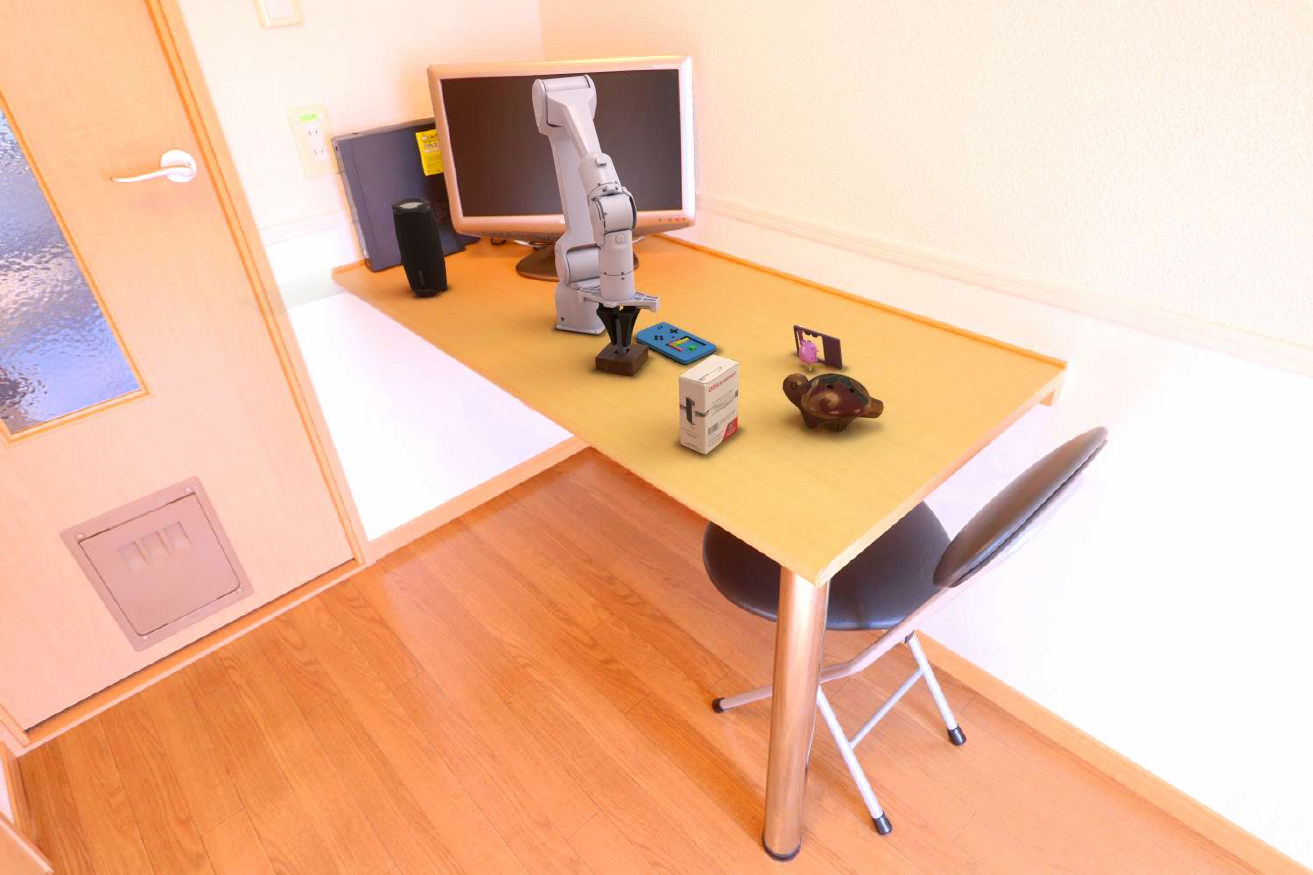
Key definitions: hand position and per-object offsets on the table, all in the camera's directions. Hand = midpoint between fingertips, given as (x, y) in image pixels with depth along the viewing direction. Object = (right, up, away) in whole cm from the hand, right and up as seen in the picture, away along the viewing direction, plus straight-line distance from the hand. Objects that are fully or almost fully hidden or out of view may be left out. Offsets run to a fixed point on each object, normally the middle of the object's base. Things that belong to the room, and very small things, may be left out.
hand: (621, 343), depth 125 cm
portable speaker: (-44, +16, +34) cm, 58 cm away
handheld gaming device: (+9, +1, +8) cm, 12 cm away
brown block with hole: (0, -3, +2) cm, 4 cm away
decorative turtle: (+33, -14, -15) cm, 39 cm away
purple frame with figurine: (+34, -4, 0) cm, 34 cm away
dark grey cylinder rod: (0, -3, +2) cm, 3 cm away
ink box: (+14, -17, -18) cm, 28 cm away
